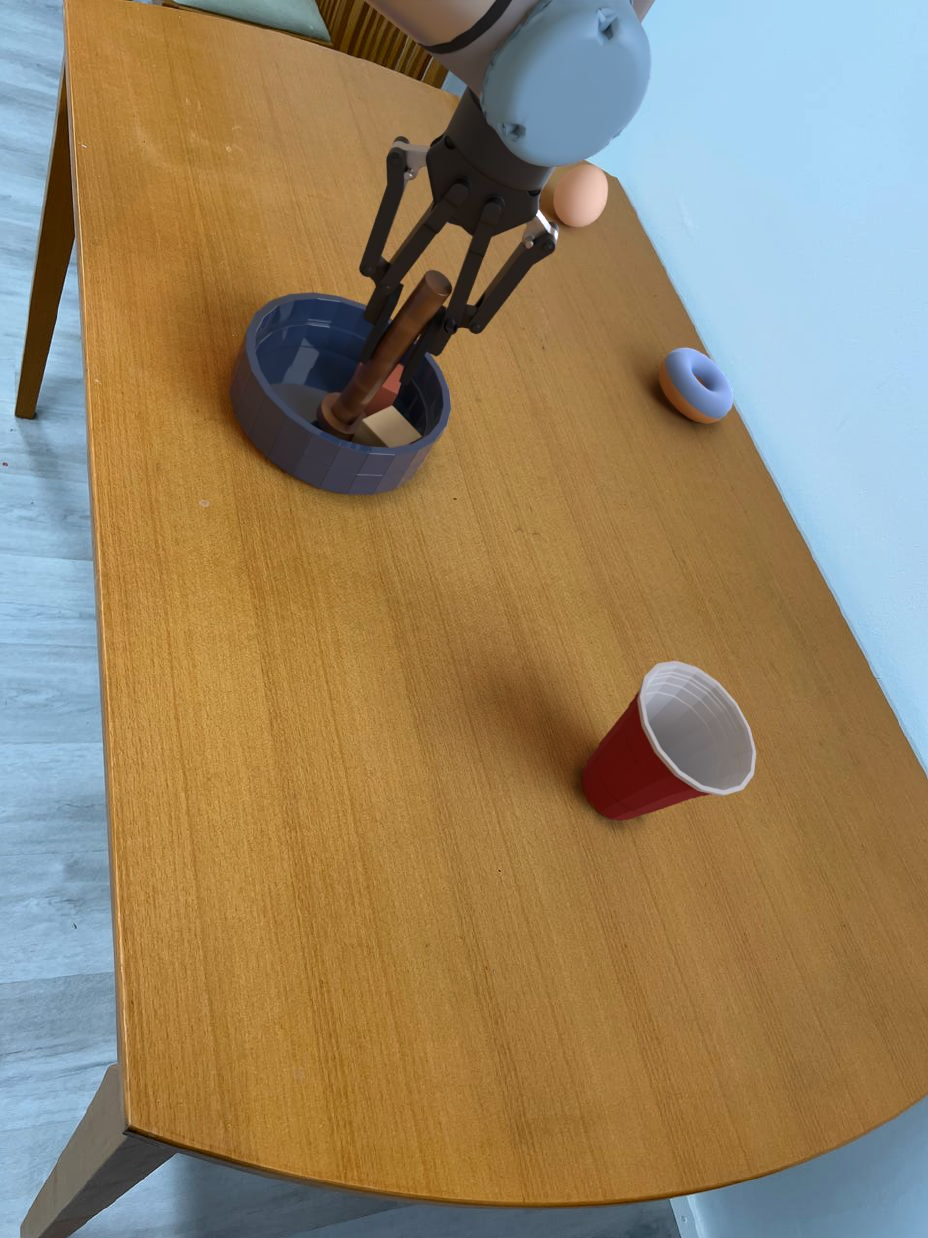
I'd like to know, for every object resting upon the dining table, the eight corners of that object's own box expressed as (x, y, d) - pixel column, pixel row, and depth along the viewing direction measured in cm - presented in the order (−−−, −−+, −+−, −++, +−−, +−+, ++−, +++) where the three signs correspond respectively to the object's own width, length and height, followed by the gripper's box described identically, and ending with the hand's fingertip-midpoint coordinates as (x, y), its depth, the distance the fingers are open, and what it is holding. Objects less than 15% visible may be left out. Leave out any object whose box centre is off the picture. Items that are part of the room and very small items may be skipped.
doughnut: (727, 405, 120) (751, 379, 117) (706, 444, 113) (730, 417, 110) (663, 355, 120) (686, 328, 116) (638, 391, 113) (661, 363, 110)
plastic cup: (685, 848, 80) (784, 790, 71) (577, 856, 74) (668, 795, 66) (645, 727, 85) (732, 660, 76) (541, 728, 80) (621, 655, 71)
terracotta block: (341, 404, 89) (356, 373, 86) (351, 378, 91) (366, 347, 88) (381, 423, 90) (397, 393, 87) (390, 397, 92) (406, 367, 89)
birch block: (346, 449, 86) (361, 419, 83) (376, 434, 89) (392, 404, 86) (376, 481, 86) (393, 452, 83) (405, 465, 88) (422, 436, 85)
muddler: (311, 427, 84) (408, 286, 71) (321, 392, 87) (417, 248, 73) (356, 449, 86) (460, 315, 72) (365, 414, 88) (467, 278, 75)
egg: (535, 200, 126) (566, 146, 121) (574, 206, 130) (605, 155, 124) (556, 236, 124) (589, 183, 118) (595, 241, 128) (628, 190, 122)
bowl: (198, 438, 80) (215, 387, 76) (263, 312, 92) (281, 261, 87) (402, 531, 85) (430, 488, 80) (439, 399, 96) (465, 355, 92)
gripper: (632, 141, 67) (479, 380, 84) (423, 13, 63) (307, 291, 80) (627, 194, 62) (465, 435, 79) (400, 59, 58) (282, 344, 75)
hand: (386, 362), depth 80 cm, fingers closed on muddler, 3 cm apart
